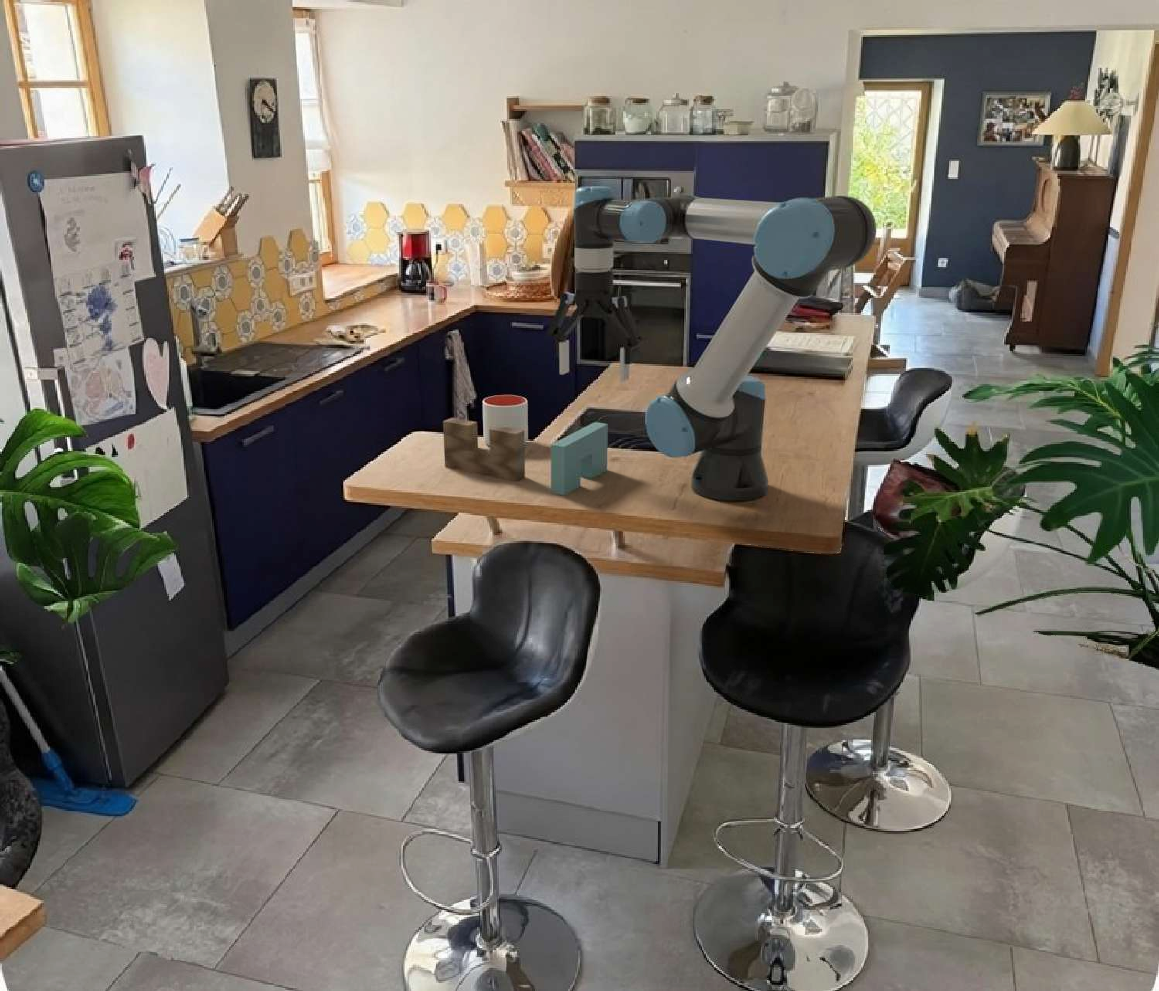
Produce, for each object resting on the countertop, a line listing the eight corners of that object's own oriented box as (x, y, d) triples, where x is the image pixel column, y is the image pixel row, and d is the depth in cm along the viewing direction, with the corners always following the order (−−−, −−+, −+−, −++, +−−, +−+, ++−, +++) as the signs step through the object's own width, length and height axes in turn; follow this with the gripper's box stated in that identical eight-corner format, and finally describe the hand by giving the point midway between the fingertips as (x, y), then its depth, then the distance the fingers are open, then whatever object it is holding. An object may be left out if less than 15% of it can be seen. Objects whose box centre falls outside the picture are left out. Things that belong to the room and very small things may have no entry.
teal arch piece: (594, 467, 216) (594, 422, 212) (607, 469, 214) (607, 424, 211) (551, 493, 201) (550, 444, 197) (564, 495, 199) (564, 446, 196)
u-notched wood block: (524, 476, 210) (524, 430, 206) (517, 481, 207) (516, 434, 204) (453, 462, 218) (451, 417, 214) (445, 466, 215) (443, 421, 212)
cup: (521, 451, 226) (521, 407, 222) (478, 448, 228) (477, 405, 224) (532, 438, 235) (532, 396, 231) (490, 435, 237) (489, 393, 233)
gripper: (660, 270, 196) (658, 378, 203) (547, 263, 207) (549, 366, 214) (644, 275, 190) (642, 386, 197) (528, 268, 201) (531, 374, 208)
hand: (594, 376), depth 205 cm, fingers open, 13 cm apart
